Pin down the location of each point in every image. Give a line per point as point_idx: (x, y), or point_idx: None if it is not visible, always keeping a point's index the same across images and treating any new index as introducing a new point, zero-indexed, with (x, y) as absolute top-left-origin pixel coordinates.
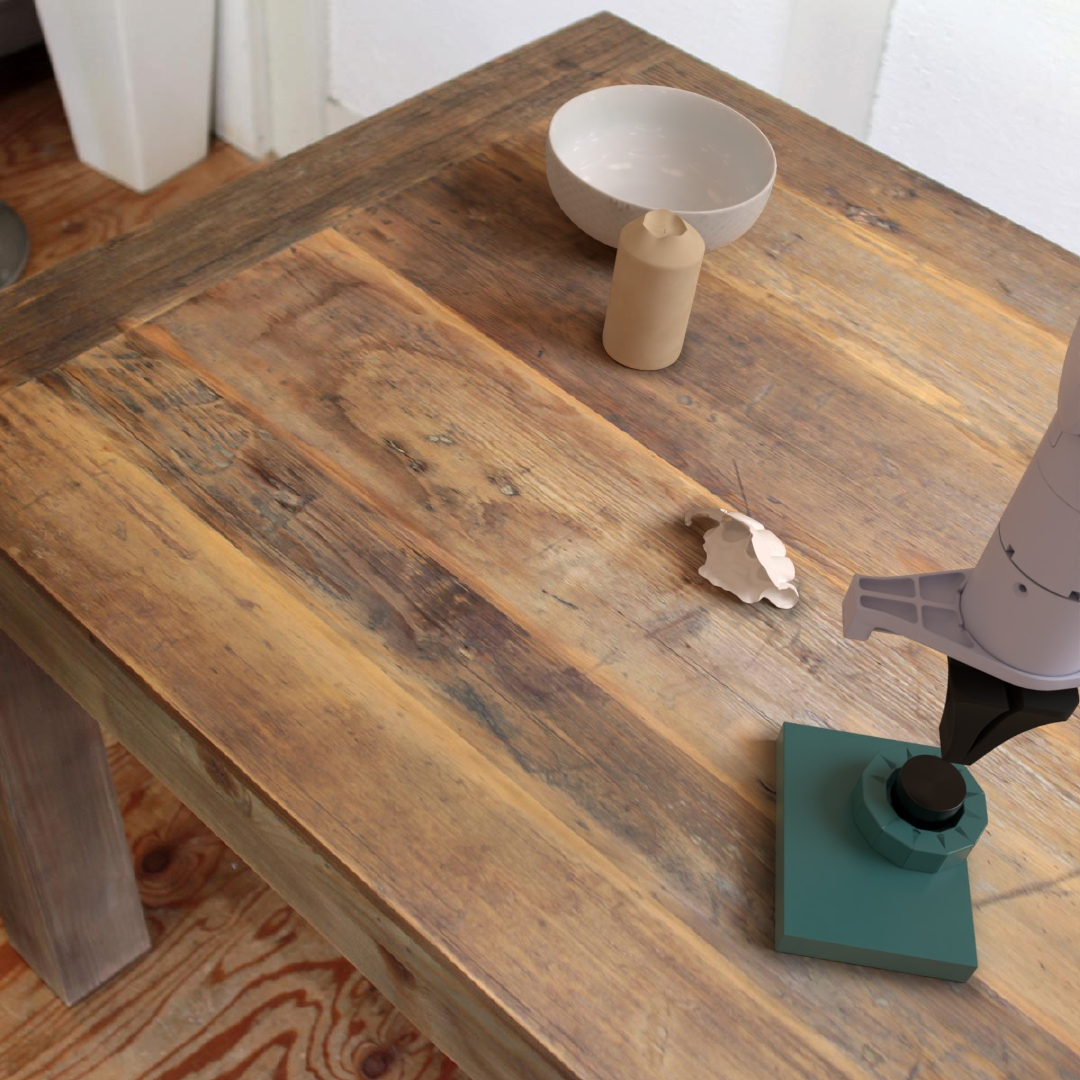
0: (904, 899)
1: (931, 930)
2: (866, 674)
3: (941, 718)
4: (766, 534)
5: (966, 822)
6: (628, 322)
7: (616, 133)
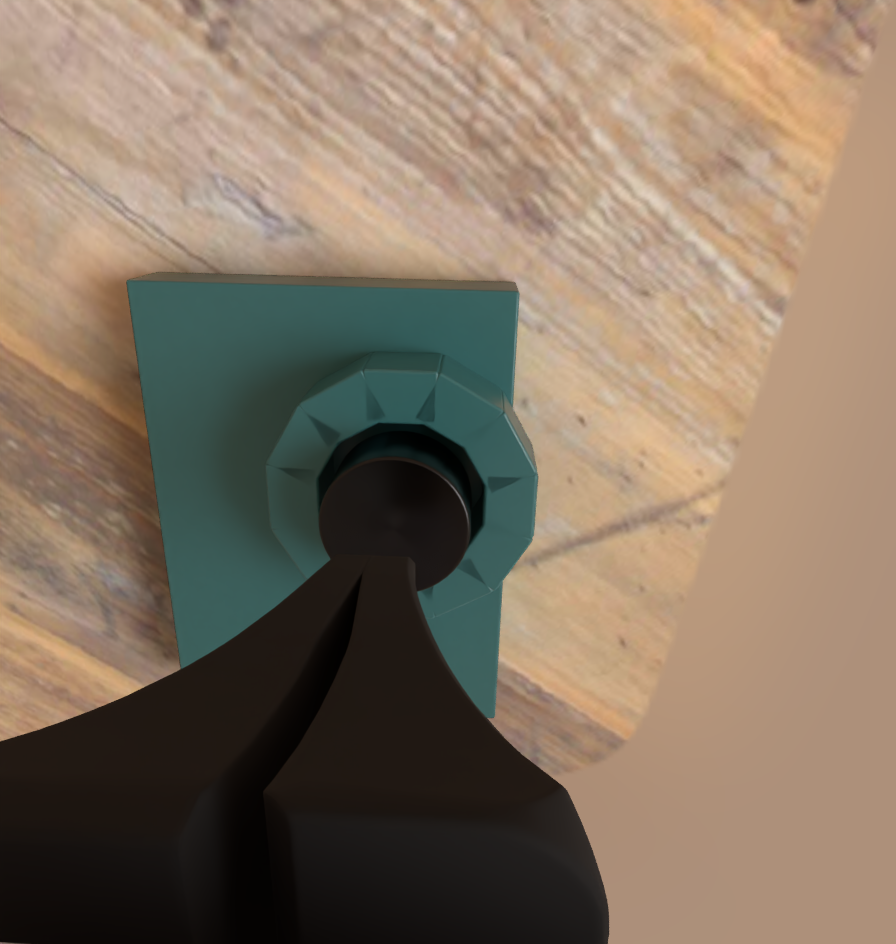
0: None
1: None
2: (351, 23)
3: (323, 565)
4: None
5: (484, 546)
6: None
7: None
